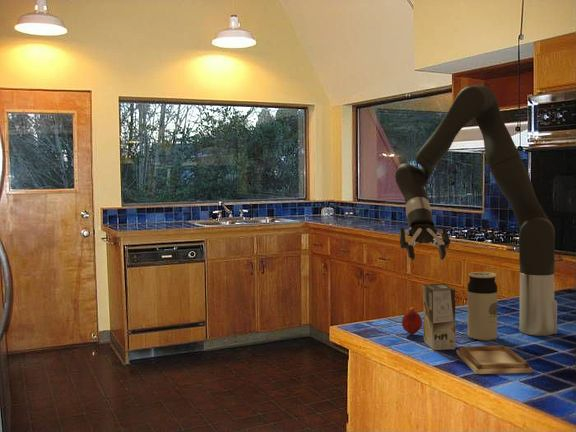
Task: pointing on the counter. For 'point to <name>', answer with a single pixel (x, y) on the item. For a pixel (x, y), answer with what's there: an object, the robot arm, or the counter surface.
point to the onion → (411, 321)
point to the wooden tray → (493, 360)
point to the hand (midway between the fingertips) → (428, 258)
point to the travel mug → (482, 306)
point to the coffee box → (439, 316)
